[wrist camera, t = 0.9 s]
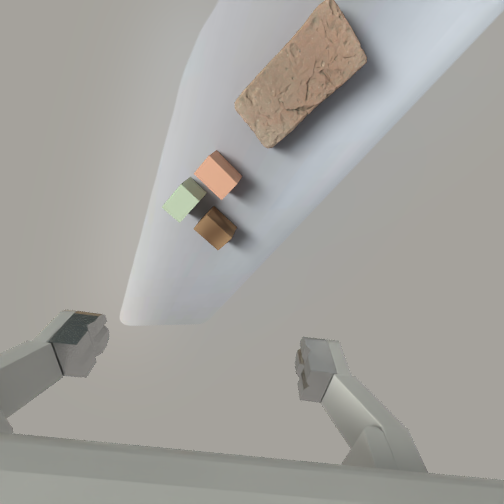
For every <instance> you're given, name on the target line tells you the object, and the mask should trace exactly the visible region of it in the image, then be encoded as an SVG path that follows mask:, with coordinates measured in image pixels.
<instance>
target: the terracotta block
mask: <svg viewBox="0 0 504 504" xmlns="http://www.w3.org/2000/svg"><path fill="white" fill-rule="evenodd" d="M194 174H195V175H196V176H197V177H198V178H199V179H200V180H201V181H202V182H203V183H204V184H205V185H206V186H207V187H208V188H209V189H210V190H211V191H213V192H214V193H215V194H216V195H217V196H218V197H219V198H220V199H221V200H222V199H223V198H224V197H225V196H226V195H227V194H228V193H229V192H230V191H231V190H232V189H233V188H234V187H235V186H236V185H237V184H238V182H239V181H240V179H241V178H242V176H241V175H240V174H239V173H238V171H237V170H236V169H235V168H234V167H233V166H232V165H231V164H230V163H229V162H228V161H227V160H226V159H225V158H224V157H223V156H222V155H221V154H220V153H219V152H218V151H217V150H216V151H215V152H213V153H212V154H211V155H209V156H208V157H207V159H206V160H205V161H204V162H203V163H202V165H201V166H200V167H199V168H198V169H197V170H196V172H195V173H194Z"/></svg>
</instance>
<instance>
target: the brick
mask: <svg viewBox="0 0 504 504" xmlns="http://www.w3.org/2000/svg"><path fill="white" fill-rule="evenodd" d="M366 62H367V56H366V54H365V52H364V50H363V49H362V48H361V45H360V42H359V40H358V38H357V37H356V35H355V33H354V31H353V30H352V28H351V26H350V25H349V23H348V21H347V20H346V18H345V16H344V14H343V13H342V12H341V10H340V8H339V7H338V5H337V4H336V2H335V1H334V0H325V1H324V2H322V3H321V4H320V5H319V6H318V7H317V8H316V9H315V10H314V11H313V13H312V14H311V15H310V17H309V18H308V19H307V21H306V22H305V23H304V25H303V26H302V27H301V28H300V29H299V30H298V31H297V33H296V34H295V35H294V36H293V37H292V39H291V40H290V41H289V42H288V43H287V44H286V45H285V46H284V47H283V49H282V50H281V51H280V52H279V53H278V54H277V55H276V56H275V57H274V58H273V59H272V60H271V61H270V62H269V63H268V64H267V65H266V67H265V68H264V69H263V70H262V71H261V72H260V73H259V74H258V75H257V76H256V77H255V79H254V80H253V81H252V82H251V83H250V84H249V85H248V86H247V87H246V88H245V90H244V91H243V92H242V93H241V95H240V96H239V97H238V98H237V100H236V101H235V109H236V111H237V112H238V113H239V114H240V115H241V117H242V118H243V120H244V121H245V122H246V123H247V124H248V125H249V127H250V128H251V130H252V131H254V133H255V134H256V136H257V138H258V139H259V140H260V141H261V143H262V144H263V145H264V146H265V147H266V148H273V147H274V146H275V145H276V144H277V143H278V142H280V141H281V140H282V139H283V138H284V137H285V136H287V135H288V134H289V133H290V132H291V131H292V130H293V129H294V128H295V127H296V126H297V125H298V124H299V123H300V122H302V121H303V119H304V118H305V117H306V116H307V115H308V114H310V112H311V111H312V110H313V109H314V108H316V106H317V105H319V104H320V103H321V102H322V101H324V100H325V99H326V98H328V97H329V96H330V95H331V94H333V93H334V91H335V90H336V89H338V88H339V87H341V86H342V85H343V84H344V83H345V82H346V81H347V80H348V79H350V78H351V77H352V76H353V75H354V74H355V73H356V72H357V71H358V70H359V69H360V68H362V66H363V65H364V64H365V63H366Z"/></svg>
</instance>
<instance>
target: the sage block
mask: <svg viewBox="0 0 504 504" xmlns="http://www.w3.org/2000/svg"><path fill="white" fill-rule="evenodd" d="M206 193H207V192H206V191H204V190H203V189H202V188H201V187H200V186H199V185H198V184H197V183H196V182H195V181H194V180H193V179H192V178H191V177H190V178H188V179H187V180H186V181H184V182H183V183H182V184H181V185H180V186H179V187H178V188H177V189H176V191H175V192H174V193H173V194H172V195H171V197H170V198H169V199H168V200H167V202H166V203H165V204H164V205H163V206H162V208H163V209H164V210H165V211H167V212H168V213H169V214H170V215H171V216H172V217H173V218H175V219H176V220H177V221H178V222H179V223H180V222H181V221H182V220H183V219H184V217H185V216H186V215H187V214H188V213H189V212H190V211H191V210H192V209H193V208H194V207H195V205H196V204H197V203H198V202H199V201H200V200H201V199H202V198H203V197H204V196H205V195H206Z"/></svg>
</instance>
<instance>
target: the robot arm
mask: <svg viewBox="0 0 504 504" xmlns="http://www.w3.org/2000/svg"><path fill="white" fill-rule="evenodd" d="M106 321H107V320H106V317H105V315H103V314H96V313H89V312H81V311H73V310H63V311H61V312H60V313H59V314H58V315H57V316H56V317H55V318H54V319H53V320H52V321H51V322H50V323H49V324H48V325H47V326H46V327H45V328H44V329H43V330H42V331H41V332H40V333H39V334H38V335H37V336H36V337H35V338H34V339H33V340H32V341H26V342H24V343H21V344H19V345H17V346H15V347H13V348H11V349H9V350H6V351H4V352H2V353H0V504H504V480H497V479H487V478H476V477H465V476H456V475H455V476H454V475H445V474H435V473H428V471H427V469H426V467H425V465H424V463H423V461H422V458H421V456H420V454H419V452H418V450H417V448H416V445H415V444H414V441H413V439H412V437H411V434H410V432H409V430H408V429H407V428H406V427H405V426H404V425H403V424H402V423H401V422H400V421H399V420H398V419H397V418H396V417H395V416H394V415H393V414H392V413H391V412H390V411H389V410H388V409H387V408H386V407H385V406H384V405H383V404H382V403H381V402H380V401H379V400H378V399H377V398H376V397H375V396H374V395H373V394H372V393H371V392H370V391H369V390H368V389H367V388H366V387H365V386H364V385H363V384H362V383H361V382H360V381H359V380H358V379H357V378H356V377H355V376H352V375H351V373H350V370H349V367H348V364H347V361H346V358H345V355H344V353H343V350H342V347H341V344H340V342H339V341H335V340H325V339H317V338H308V337H303V338H302V339H301V341H300V347H301V348H300V349H299V350H298V351H297V354H296V361H295V365H296V366H295V368H296V374H297V375H298V376H299V381H298V390H299V397H300V400H305V401H312V402H320V403H321V405H322V407H323V408H324V409H325V411H326V412H327V414H328V415H329V417H330V418H331V420H332V421H333V423H334V424H335V426H336V427H337V429H338V430H339V432H340V433H341V435H342V436H343V438H344V439H345V441H346V442H347V444H348V445H349V447H350V448H351V450H350V452H349V453H348V455H347V456H346V458H345V459H344V461H343V462H342V465H338V464H328V463H318V462H307V461H296V460H286V459H274V458H265V457H255V456H254V457H253V456H243V455H233V454H223V453H213V452H201V451H192V450H181V449H170V448H160V447H150V446H139V445H128V444H118V443H107V442H97V441H86V440H75V439H64V438H54V437H43V436H33V435H23V434H12V433H13V428H12V426H11V425H10V423H9V422H8V420H7V418H8V417H9V416H10V415H12V414H13V413H15V412H16V411H17V410H19V409H20V408H21V407H23V406H24V405H26V404H27V403H28V402H30V401H31V400H33V399H34V398H35V397H37V396H38V395H39V394H41V393H42V392H43V391H45V390H46V389H48V388H49V387H50V386H52V385H53V384H54V383H56V382H57V381H59V380H60V379H61V378H63V376H74V377H87V376H88V374H89V373H90V371H91V370H92V368H93V367H94V365H95V363H96V358H95V357H96V356H98V355H99V354H101V353H103V351H104V349H105V348H106V346H107V343H108V340H109V330H108V328H107V327H106V326H104V324H105V323H106Z"/></svg>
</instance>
